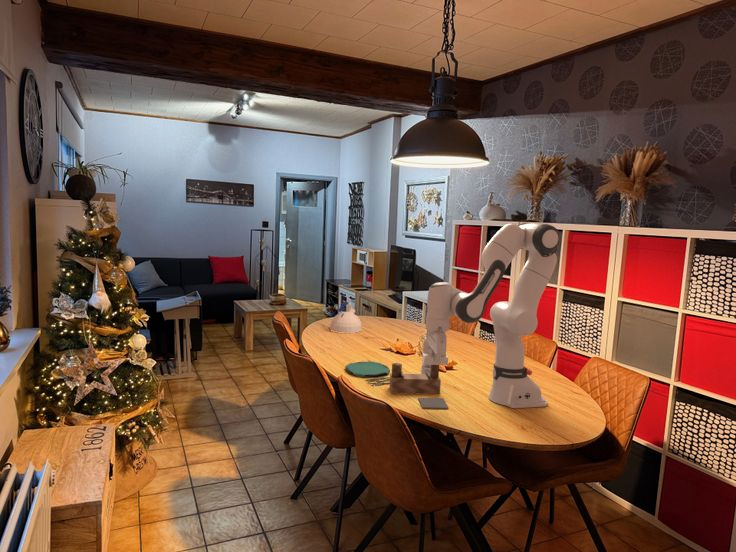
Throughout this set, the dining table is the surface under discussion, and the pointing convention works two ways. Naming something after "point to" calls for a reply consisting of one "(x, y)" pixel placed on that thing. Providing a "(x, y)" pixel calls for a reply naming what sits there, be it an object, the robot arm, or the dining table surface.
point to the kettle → (346, 321)
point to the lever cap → (429, 359)
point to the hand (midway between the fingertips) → (435, 360)
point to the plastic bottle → (426, 351)
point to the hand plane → (414, 381)
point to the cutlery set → (369, 371)
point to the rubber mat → (433, 403)
